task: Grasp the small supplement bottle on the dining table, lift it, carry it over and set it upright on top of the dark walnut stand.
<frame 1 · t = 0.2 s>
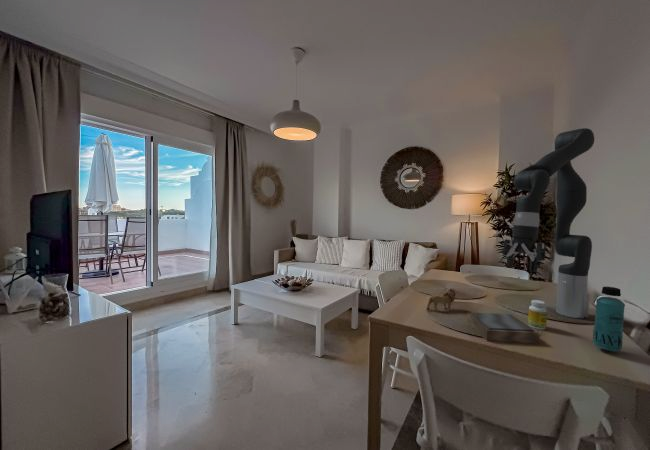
hand: (520, 269, 103), 22 cm above the table, tool pointing down, fingers open, 8 cm apart
lion figurine: (440, 309, 123), on the table
walnut stand: (499, 331, 101), on the table
supplement bottle: (536, 327, 105), on the table
beverage bottle: (606, 351, 88), on the table
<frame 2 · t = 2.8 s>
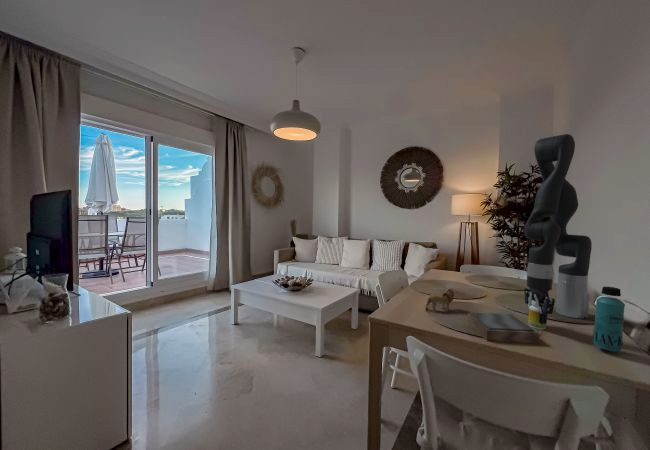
hand: (537, 320, 105), 3 cm above the table, tool pointing down, fingers closed on supplement bottle, 5 cm apart
supplement bottle: (537, 327, 105), on the table, touching gripper
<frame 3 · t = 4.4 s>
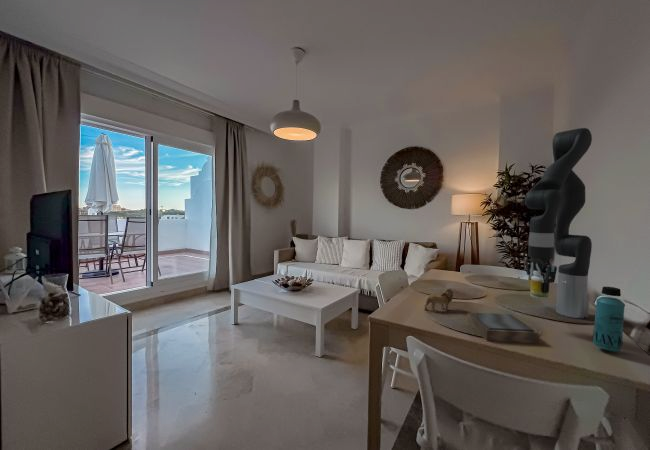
hand: (539, 290, 105), 14 cm above the table, tool pointing down, fingers closed on supplement bottle, 5 cm apart
supplement bottle: (539, 297, 105), point 11 cm above the table, touching gripper
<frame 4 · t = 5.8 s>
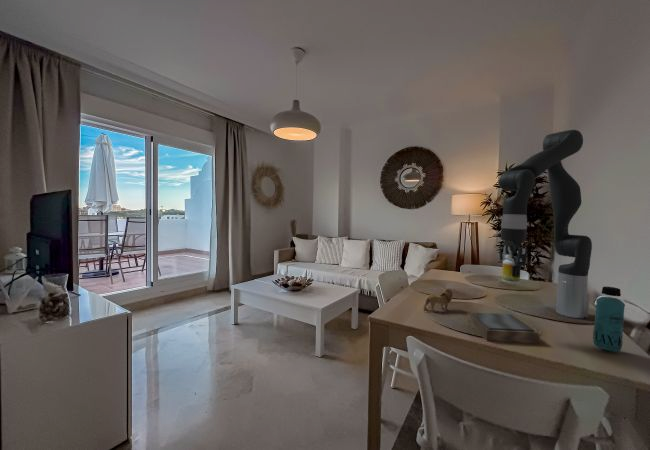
hand: (510, 274, 101), 20 cm above the table, tool pointing down, fingers closed on supplement bottle, 5 cm apart
supplement bottle: (510, 282, 101), point 18 cm above the table, touching gripper
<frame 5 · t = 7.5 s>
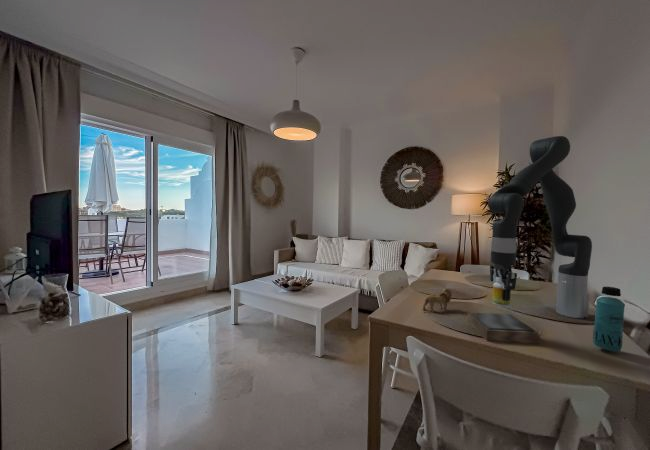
hand: (501, 297, 100), 12 cm above the table, tool pointing down, fingers closed on supplement bottle, 5 cm apart
supplement bottle: (501, 305, 101), point 10 cm above the table, touching gripper
when the fingers open (8 cm above the table, at t = 8.8 s): supplement bottle drops 1 cm, resting on walnut stand.
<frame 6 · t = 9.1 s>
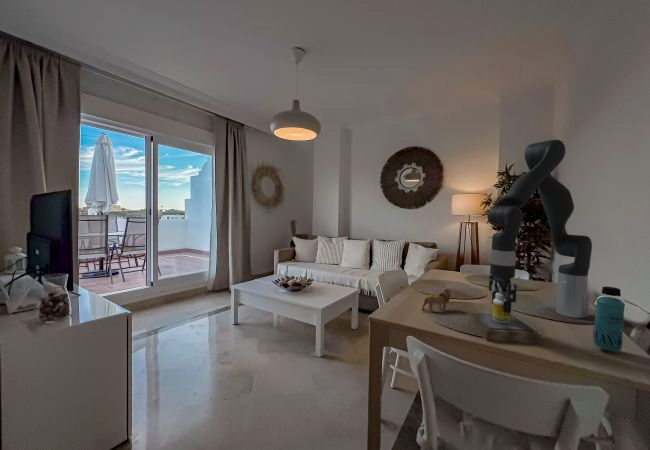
hand: (500, 308, 101), 8 cm above the table, tool pointing down, fingers open, 7 cm apart
supplement bottle: (500, 321, 101), point 4 cm above the table, touching walnut stand
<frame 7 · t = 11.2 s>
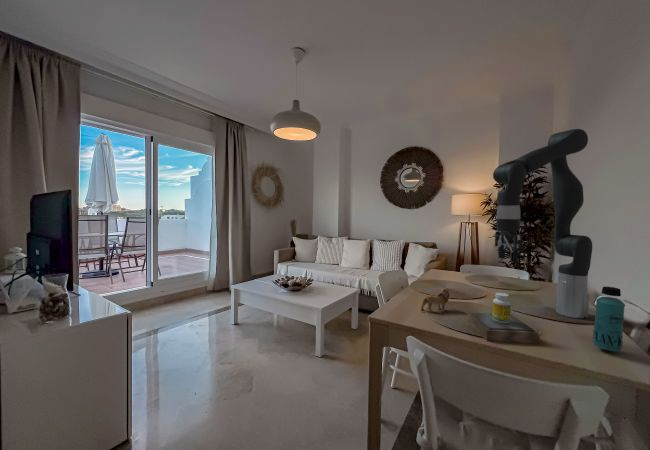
hand: (507, 260, 108), 24 cm above the table, tool pointing down, fingers open, 8 cm apart
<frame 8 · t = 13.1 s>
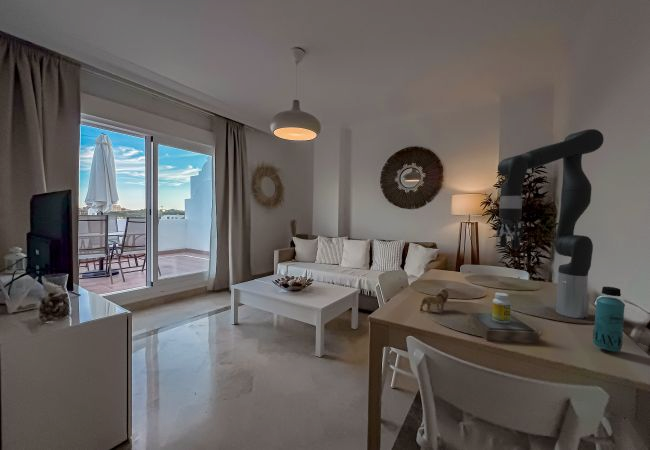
hand: (508, 247, 114), 28 cm above the table, tool pointing down, fingers open, 8 cm apart
at the end: supplement bottle inside the target area on the walnut stand (0.1 cm from its centre), point 3.8 cm above the walnut stand's base; supplement bottle tilted 0°; the gripper is holding nothing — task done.
